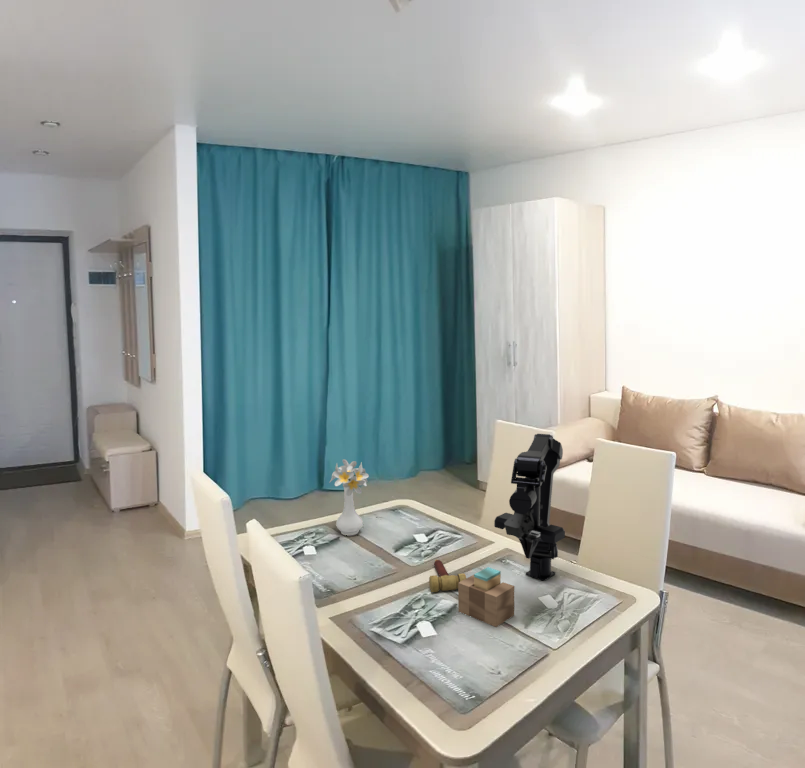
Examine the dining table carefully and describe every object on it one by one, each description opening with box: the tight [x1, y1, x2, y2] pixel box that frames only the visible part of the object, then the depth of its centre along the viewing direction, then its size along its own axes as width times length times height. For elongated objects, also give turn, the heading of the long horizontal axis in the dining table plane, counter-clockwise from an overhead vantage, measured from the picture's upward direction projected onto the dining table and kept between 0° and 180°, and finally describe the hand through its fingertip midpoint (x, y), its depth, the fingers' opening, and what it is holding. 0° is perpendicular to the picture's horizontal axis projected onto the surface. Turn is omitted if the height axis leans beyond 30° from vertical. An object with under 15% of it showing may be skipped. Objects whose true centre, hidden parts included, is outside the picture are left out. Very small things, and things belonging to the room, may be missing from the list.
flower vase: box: [328, 459, 370, 537], centre depth 229 cm, size 13×18×25 cm
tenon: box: [473, 566, 502, 591], centre depth 173 cm, size 6×4×11 cm, turn 136°
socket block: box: [457, 574, 515, 628], centre depth 173 cm, size 8×12×8 cm, turn 46°
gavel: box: [428, 559, 467, 593], centre depth 195 cm, size 21×5×10 cm
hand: (528, 558), depth 178 cm, fingers closed
